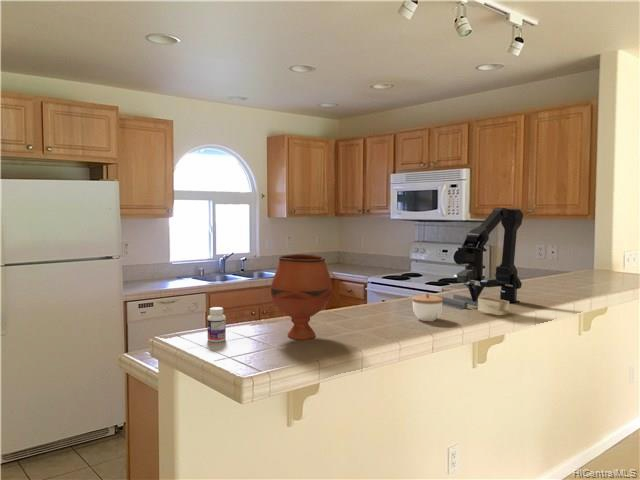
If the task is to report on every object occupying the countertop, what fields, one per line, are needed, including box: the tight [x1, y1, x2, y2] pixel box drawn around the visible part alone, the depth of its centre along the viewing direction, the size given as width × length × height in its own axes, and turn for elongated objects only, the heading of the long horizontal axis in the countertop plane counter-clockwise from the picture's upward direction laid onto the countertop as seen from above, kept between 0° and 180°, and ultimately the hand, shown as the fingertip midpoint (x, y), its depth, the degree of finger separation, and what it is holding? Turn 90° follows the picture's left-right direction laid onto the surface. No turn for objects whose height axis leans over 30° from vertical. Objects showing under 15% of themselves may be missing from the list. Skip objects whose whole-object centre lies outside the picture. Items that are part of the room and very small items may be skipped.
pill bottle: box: [206, 306, 227, 343], centre depth 154 cm, size 5×5×10 cm
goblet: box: [270, 253, 333, 340], centre depth 159 cm, size 19×19×25 cm
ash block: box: [477, 296, 510, 316], centre depth 198 cm, size 6×10×5 cm, turn 30°
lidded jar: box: [411, 292, 443, 322], centre depth 185 cm, size 11×11×9 cm
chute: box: [436, 293, 478, 310], centre depth 214 cm, size 15×16×2 cm
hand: (474, 301), depth 206 cm, fingers closed
